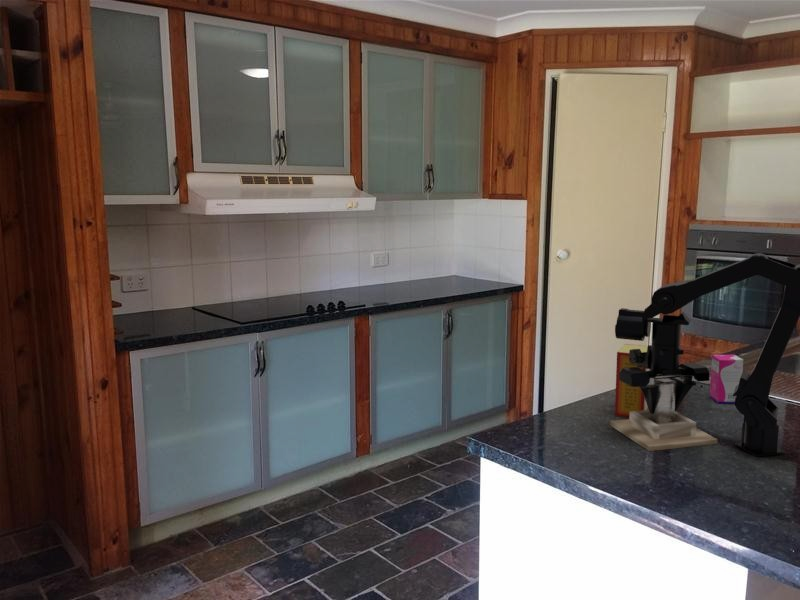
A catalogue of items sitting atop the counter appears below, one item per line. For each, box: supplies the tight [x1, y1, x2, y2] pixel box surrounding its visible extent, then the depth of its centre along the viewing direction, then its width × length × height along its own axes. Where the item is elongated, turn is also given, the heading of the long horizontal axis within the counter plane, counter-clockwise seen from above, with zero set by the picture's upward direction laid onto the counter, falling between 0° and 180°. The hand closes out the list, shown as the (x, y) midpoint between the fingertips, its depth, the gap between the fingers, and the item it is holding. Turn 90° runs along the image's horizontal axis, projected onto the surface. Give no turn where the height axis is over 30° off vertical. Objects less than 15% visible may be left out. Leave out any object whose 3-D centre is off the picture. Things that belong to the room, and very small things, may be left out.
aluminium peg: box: [650, 378, 676, 424], centre depth 145 cm, size 5×5×10 cm
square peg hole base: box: [609, 410, 719, 452], centre depth 146 cm, size 16×16×4 cm
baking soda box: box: [614, 343, 651, 418], centre depth 160 cm, size 10×6×16 cm
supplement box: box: [709, 354, 744, 405], centre depth 168 cm, size 6×6×12 cm
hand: (662, 412), depth 146 cm, fingers closed on aluminium peg, 5 cm apart
